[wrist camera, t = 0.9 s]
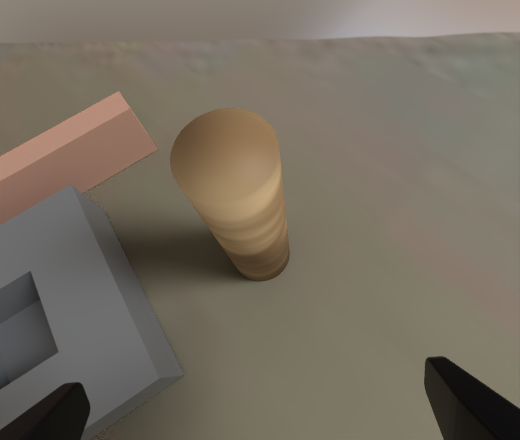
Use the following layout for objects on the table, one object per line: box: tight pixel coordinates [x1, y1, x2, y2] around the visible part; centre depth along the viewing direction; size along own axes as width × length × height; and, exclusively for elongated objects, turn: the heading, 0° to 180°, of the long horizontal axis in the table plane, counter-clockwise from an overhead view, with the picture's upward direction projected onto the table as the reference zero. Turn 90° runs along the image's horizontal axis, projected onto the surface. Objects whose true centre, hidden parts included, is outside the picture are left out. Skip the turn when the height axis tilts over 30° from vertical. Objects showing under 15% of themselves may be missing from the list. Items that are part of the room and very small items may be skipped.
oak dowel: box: [170, 108, 289, 281], centre depth 18 cm, size 4×4×12 cm
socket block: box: [0, 184, 184, 440], centre depth 21 cm, size 14×14×4 cm
